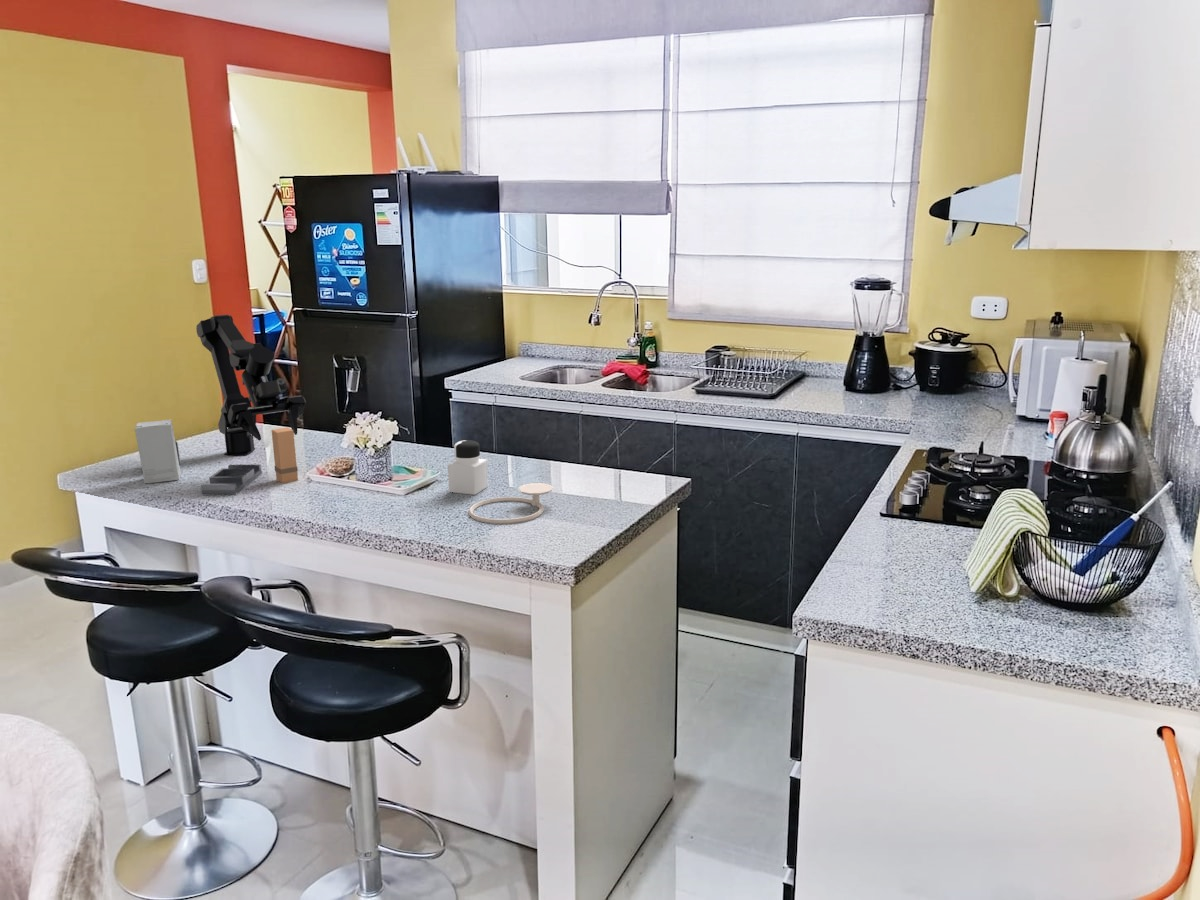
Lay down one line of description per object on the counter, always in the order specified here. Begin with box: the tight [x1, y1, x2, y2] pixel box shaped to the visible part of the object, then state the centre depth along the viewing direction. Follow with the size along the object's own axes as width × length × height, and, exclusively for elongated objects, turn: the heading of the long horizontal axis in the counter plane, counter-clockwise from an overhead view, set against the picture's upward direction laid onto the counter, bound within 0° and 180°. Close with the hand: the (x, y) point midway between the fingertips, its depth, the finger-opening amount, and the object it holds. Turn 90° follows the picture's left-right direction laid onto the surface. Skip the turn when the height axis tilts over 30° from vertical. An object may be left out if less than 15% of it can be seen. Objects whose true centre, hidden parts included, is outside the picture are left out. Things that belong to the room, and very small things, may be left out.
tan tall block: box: [271, 427, 299, 484], centre depth 229 cm, size 4×4×13 cm
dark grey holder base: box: [200, 464, 263, 495], centre depth 227 cm, size 8×18×3 cm, turn 0°
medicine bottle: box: [447, 439, 489, 496], centre depth 220 cm, size 7×7×12 cm
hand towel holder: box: [468, 482, 554, 525], centre depth 206 cm, size 17×4×21 cm
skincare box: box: [134, 419, 181, 484], centre depth 229 cm, size 8×6×15 cm
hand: (278, 436), depth 230 cm, fingers open, 9 cm apart
